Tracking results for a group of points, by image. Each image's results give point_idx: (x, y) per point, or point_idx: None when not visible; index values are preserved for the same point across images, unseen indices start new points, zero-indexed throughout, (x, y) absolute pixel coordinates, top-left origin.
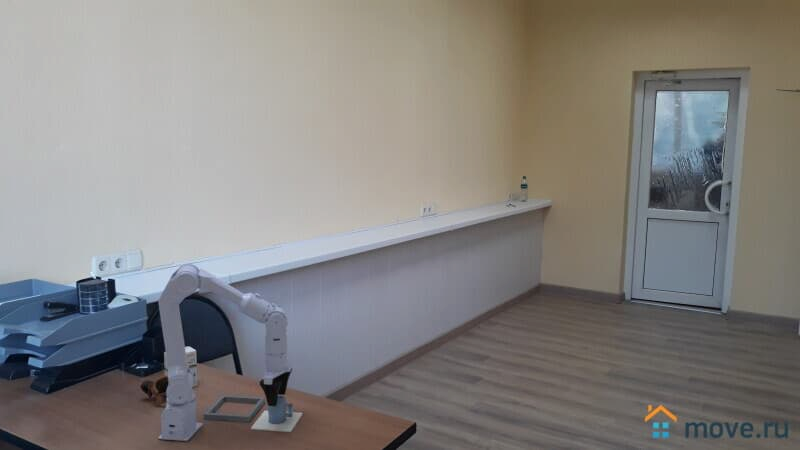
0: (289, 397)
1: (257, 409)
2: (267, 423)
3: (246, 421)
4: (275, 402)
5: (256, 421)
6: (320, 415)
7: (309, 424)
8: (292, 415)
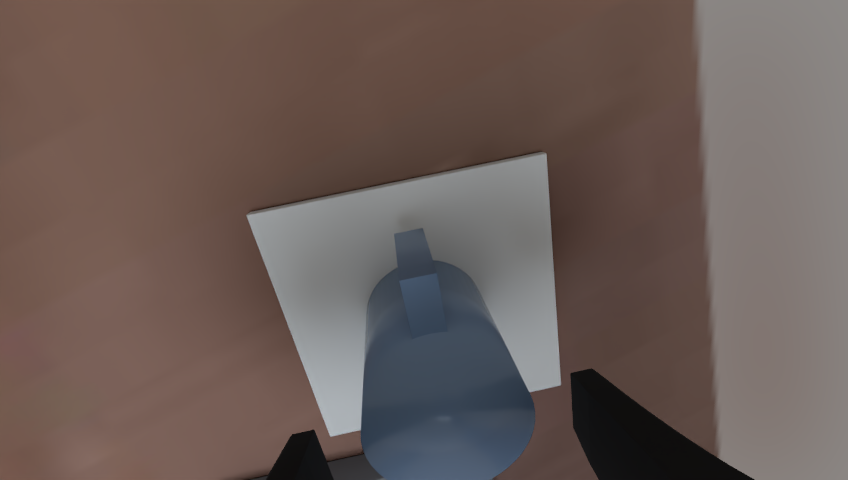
0: (58, 417)
1: (349, 470)
2: None
3: None
4: (623, 396)
5: None
6: (191, 59)
7: (385, 75)
8: (399, 234)
